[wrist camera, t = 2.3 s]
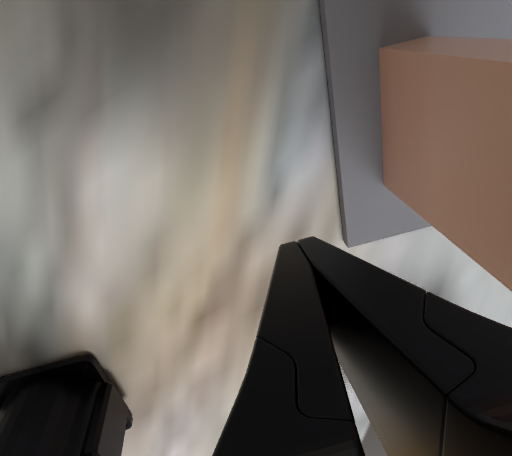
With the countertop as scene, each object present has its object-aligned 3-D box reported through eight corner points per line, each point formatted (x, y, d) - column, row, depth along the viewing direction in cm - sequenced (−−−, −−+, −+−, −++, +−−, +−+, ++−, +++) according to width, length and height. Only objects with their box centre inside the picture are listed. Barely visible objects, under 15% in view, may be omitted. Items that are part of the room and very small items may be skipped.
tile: (383, 185, 17) (574, 342, 9) (378, 48, 14) (660, 78, 6) (428, 173, 17) (661, 318, 9) (432, 34, 14) (792, 45, 6)
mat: (344, 241, 19) (348, 247, 19) (316, -30, 13) (320, -32, 13) (593, 176, 20) (604, 180, 19) (674, -116, 14) (693, -121, 13)
